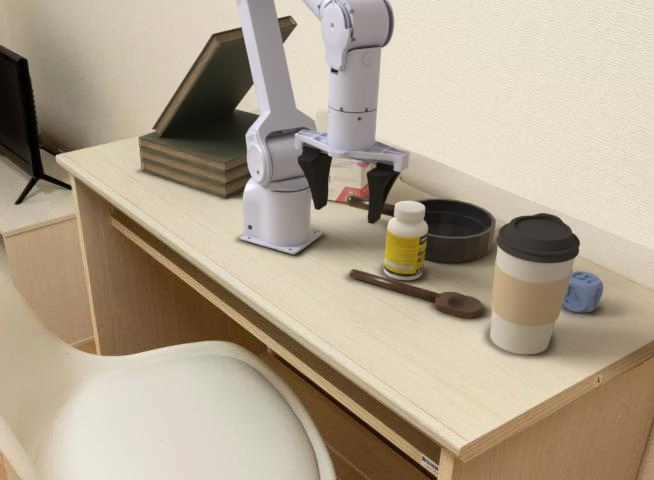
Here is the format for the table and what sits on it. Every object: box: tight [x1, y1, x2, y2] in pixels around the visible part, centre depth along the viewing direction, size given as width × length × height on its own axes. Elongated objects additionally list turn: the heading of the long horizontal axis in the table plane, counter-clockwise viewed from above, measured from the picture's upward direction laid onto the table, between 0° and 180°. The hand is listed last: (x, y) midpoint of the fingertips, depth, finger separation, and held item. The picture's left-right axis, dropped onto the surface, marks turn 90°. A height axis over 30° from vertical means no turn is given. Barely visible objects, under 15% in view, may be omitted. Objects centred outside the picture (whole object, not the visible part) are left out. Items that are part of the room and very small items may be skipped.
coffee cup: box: [489, 212, 581, 355], centre depth 91 cm, size 9×9×15 cm
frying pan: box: [415, 197, 497, 263], centre depth 117 cm, size 14×14×4 cm
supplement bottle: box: [383, 200, 428, 281], centre depth 107 cm, size 5×5×10 cm
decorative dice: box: [562, 270, 604, 314], centre depth 102 cm, size 4×4×4 cm
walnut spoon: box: [349, 268, 483, 319], centre depth 104 cm, size 19×4×1 cm, turn 60°
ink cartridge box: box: [315, 108, 372, 204], centre depth 128 cm, size 9×5×15 cm, turn 68°
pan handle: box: [346, 195, 395, 218], centre depth 121 cm, size 9×2×2 cm, turn 60°
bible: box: [138, 15, 298, 199], centre depth 136 cm, size 23×20×25 cm
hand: (347, 213), depth 100 cm, fingers open, 7 cm apart
